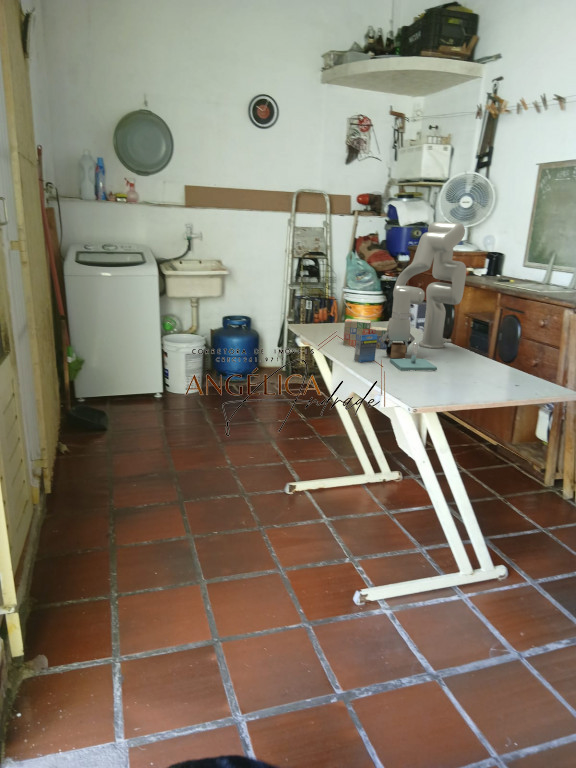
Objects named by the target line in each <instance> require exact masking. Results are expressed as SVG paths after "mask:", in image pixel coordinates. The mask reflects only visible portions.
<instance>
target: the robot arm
mask: <svg viewBox="0 0 576 768" xmlns="http://www.w3.org/2000/svg"><path fill="white" fill-rule="evenodd" d="M465 233H466V229H465V226H464V225H463V224H462V223H461V222H460V223H459V222H445V221H434V222H431V223H430V224H429V225H428V227H427V232H424V233H422V235H421V236H420V239H419V242H418V245H417V248H416V249H415V250H416V251H415V253H414V257H413V259H412V261H411V263H410V264H409V265H408V266H406V268H404V269H403V270H402V271H401V272H400V274H399V275H398V277H397V279H396V281H395V284H394V288H393V291H392V292H393V293H392V297H393V303H392V309H391V310H392V313H391V317H389V319H388V323H387V327H386V328H387V332H386V334H384V335H383V336H382V337H381V339H382V340H383V342H384V343H385V344H386V345H387V349H385V350H386V355H387V354H388V355H390V354H391V347H390V346H391V344H392V342H402V343H403V344H405V345H406V346H407V348H406V354H407V353H408V347H409V346H410V345H411V344H413V341H415V337H414V335H412V334H411V320H410V317H411V318H412V316H413V314H412V313H410V312H411V311H410V308H411V305H420V304H421V303H423V301H424V300H426V304H425V305H426V307H425V308H426V309H425V315H424V316H425V317H424V325H423V332H422V340H421V341H419V342H418V346H420V347H422V348H426V349H435V350H436V349H437V350H438V349H443V348H445V344H451V343H452V339H451V338H448V339H447V338H445V337H444V330H445V329H444V328H445V321H446V314H447V313H446V312H447V310H446V307H445V305H444V304H446V305H459V304H460V303H461V302H462V299H463V295H464V293H465V292H464V291H465V284H466V279H467V266H466V264H465V263H464V262H463V261H461V260H459V261H458V260H453V259H454V258H453V256H454V248H455V247H456V246H457V245H458V244H459V243H461V242H462V240H463V239H464V238H465V235H466V234H465ZM431 268H432V271H431V272H432V273H431V275H432V277H433V278H434V279H437V280H442V281H446V282H447V281H449V282H451V283H446V282H438V281H435V282H431V283H429V284H428V285H427V286H426V290H423V289H422V288H420V287H418V286H417V287H415V286H411V285H406V284H407V283H408V281H409V280H410V279H411V278H412V277H414V276H416V275H419V274H421V273H423V272H427V271H428V270H430V269H431ZM425 291H426V292H425ZM425 297H426V299H425ZM385 338H387V339H388V341H386V339H385ZM388 355H387V356H388Z"/></svg>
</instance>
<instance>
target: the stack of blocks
mask: <svg viewBox="0 0 576 768" xmlns="http://www.w3.org/2000/svg"><path fill="white" fill-rule="evenodd" d="M371 323H372V321H371V320H370V319H369V320H368V319H355V318H353V319H352V318H346V319H345V320H344V327H343V340H342V344H343V346H349V347H355V346H356V342H358V341H361V335H369V334H377V344H376V349H382V350H383V349H384V350H386V349H387V345H386V344H385V343H384V342H383V340H382V339H381V337H382V336H383V335H384V334H386V332H387V327H380V326H379V327H377V326H372V325H371ZM370 338H372V337H367V339H370ZM385 339H386V341H388V339H387V338H385Z"/></svg>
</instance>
